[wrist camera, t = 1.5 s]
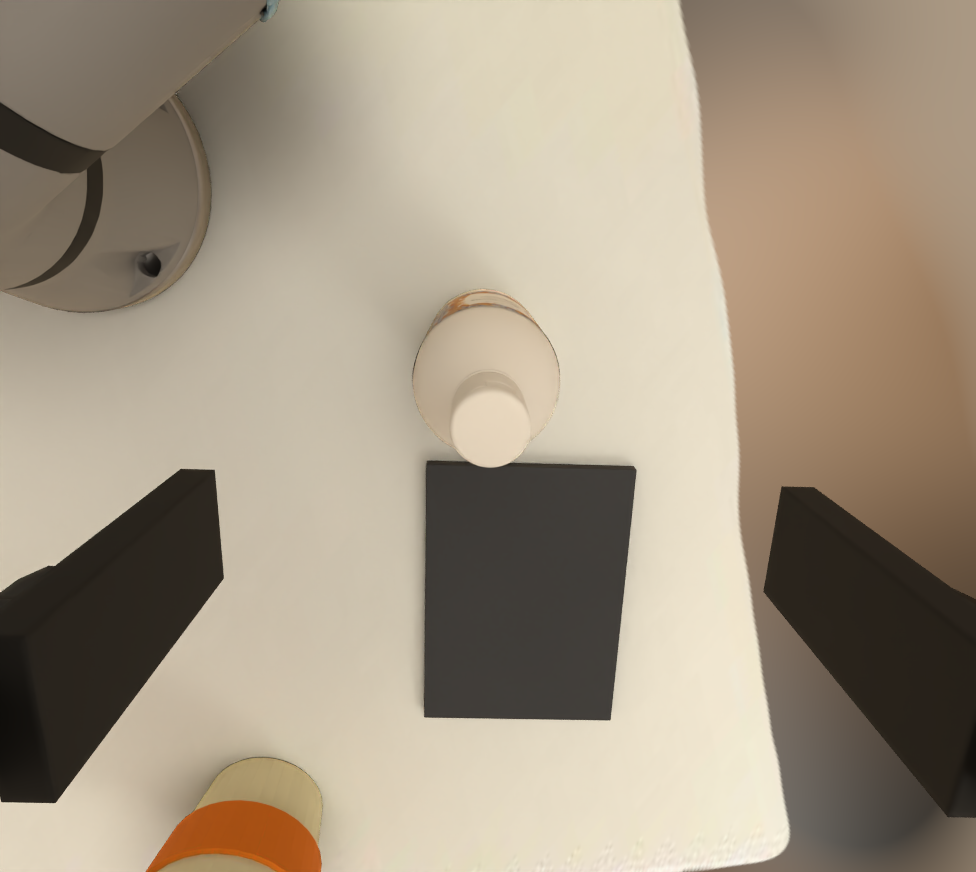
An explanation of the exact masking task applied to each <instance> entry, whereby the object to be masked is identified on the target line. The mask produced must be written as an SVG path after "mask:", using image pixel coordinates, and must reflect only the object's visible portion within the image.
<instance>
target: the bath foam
mask: <svg viewBox="0 0 976 872" xmlns="http://www.w3.org/2000/svg"><path fill="white" fill-rule="evenodd" d="M559 388H560V371H559V365H558V360H557V357H556V354H555V351H554V349H553V347H552V345H551V343H550V341H549V340H548V338H547V337H546V335H545V334H544V333H543V331H542V330H541V329H540V327H539V326H538V324H537V323H536V322H535V320H534V319H533V318H532V316H531V315H530V314H529V312H528V311H527V310H526V309H525V308H524V307H523V306H522V305H521V304H520V303H519V302H518V301H517V300H515V299H514V298H512V297H511V296H509V295H507V294H505V293H502V292H499V291H495V290H489V289H477V290H471V291H468V292H464V293H462V294H460V295H458V296H456V297H454V298H453V299H451V300H450V301H449V302H447V303H446V304H445V305H444V306H443V307H442V308H441V310H440V311H439V312H438V314H437V315H436V317H435V318H434V320H433V322H432V324H431V326H430V328H429V330H428V332H427V334H426V336H425V338H424V340H423V342H422V344H421V346H420V349H419V351H418V354H417V357H416V360H415V363H414V368H413V390H414V396H415V400H416V404H417V407H418V409H419V412H420V414H421V416H422V418H423V419H424V421H425V423H426V424H427V425H428V427H429V428H430V429H431V431H432V432H433V433H434V434H435V435H436V436H437V437H438V438H440V439H441V440H442V441H443V442H445V443H446V444H448V445H449V446H451V447H453V448H455V449H456V450H457V452H458V453H459V454H460V455H461V456H462V457H463V458H464V459H466V460H467V461H469V462H470V463H472V464H475V465H477V466H481V467H489V468H492V467H499V466H503V465H506V464H508V463H510V462H512V461H513V460H515V459H516V458H517V457H519V456H520V455H521V453H522V452H523V451H524V450H525V448H526V446H527V444H528V442H530V441H531V440H532V439H534V438H535V437H536V436H537V435H538V434H539V433H540V432H541V431H542V429H543V428H544V427H545V426H546V424H547V423H548V421H549V419H550V418H551V416H552V414H553V412H554V409H555V406H556V403H557V400H558V395H559Z"/></svg>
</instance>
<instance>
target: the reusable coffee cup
mask: <svg viewBox="0 0 976 872" xmlns="http://www.w3.org/2000/svg"><path fill="white" fill-rule="evenodd" d="M322 806H323V805H322V797H321V794H320V792H319V789H318V787H317V786H316V784H315V783H314V781H313V780H312V779H311V778H310V777H309V776H308V775H307V774H306V773H305V772H304V771H302V770H301V769H299V768H298V767H296V766H294V765H292V764H290V763H288V762H285V761H281V760H278V759H272V758H250V759H246V760H241V761H239V762H236V763H234V764H232V765H230V766H229V767H227V768H226V769H224V770H223V771H222V772H221V773H220V774H219V775H218V776H217V777H216V778H215V780H214V781H213V783H212V784H211V786H210V787H209V789H208V790H207V792H206V793H205V795H204V796H203V798H202V799H201V801H200V802H199V804H198V805H197V807H196V808H195V810H194V811H193V812H192V813H191V814H189V815H188V816H186V817H185V818H184V819H183V820H182V821H181V822H180V823H179V824H178V825H177V826H176V828H175V829H174V831H173V832H172V834H171V835H170V837H169V838H168V840H167V841H166V843H165V844H164V845H163V847H162V848H161V850H160V851H159V853H158V854H157V856H156V857H155V859H154V860H153V862H152V863H151V865H150V866H149V867H148V869H147V870H146V872H321V865H322V863H321V856H320V851H319V848H318V841H319V833H320V824H321V815H322Z"/></svg>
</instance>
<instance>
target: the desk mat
mask: <svg viewBox="0 0 976 872" xmlns="http://www.w3.org/2000/svg"><path fill="white" fill-rule="evenodd" d="M635 479H636V469H635V467H634V466H602V465H565V464H527V463H508V464H506V465H503V466H499V467H492V468H489V467H481V466H477V465H475V464H472V463H470V462H452V461H427V465H426V577H425V693H424V717H431V718H494V719H558V720H610V719H611V710H612V700H613V691H614V681H615V671H616V662H617V652H618V643H619V633H620V623H621V614H622V604H623V595H624V585H625V575H626V566H627V556H628V547H629V537H630V527H631V518H632V508H633V499H634V489H635Z"/></svg>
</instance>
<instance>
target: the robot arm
mask: <svg viewBox="0 0 976 872" xmlns="http://www.w3.org/2000/svg"><path fill="white" fill-rule="evenodd" d="M278 2H279V0H0V291H3V292H5V293H8V294H11V295H14V296H16V297H19V298H22V299H25V300H28V301H30V302H33V303H36V304H39V305H42V306H45V307H49V308H52V309H56V310H62V311H68V312H79V313H90V312H102V311H109V310H114V309H119V308H124V307H128V306H133V305H135V304H138V303H141V302H144V301H146V300H148V299H151V298H153V297H155V296H156V295H158V294H160V293H161V292H163V291H164V290H166V289H167V288H168V287H170V286H171V285H172V284H173V283H174V282H175V281H177V280H178V279H179V278H180V277H181V276H182V274H183V273H184V272H185V271H186V270H187V268H188V267H189V266H190V264H191V263H192V261H193V260H194V258H195V257H196V255H197V253H198V251H199V249H200V247H201V244H202V242H203V239H204V236H205V234H206V230H207V226H208V222H209V216H210V210H211V180H210V172H209V167H208V162H207V157H206V154H205V151H204V147H203V144H202V141H201V139H200V136H199V134H198V132H197V129H196V127H195V125H194V123H193V121H192V119H191V117H190V116H189V114H188V112H187V111H186V109H185V108H184V106H183V104H182V103H181V102H180V100H179V99H178V98H177V96H176V95H175V93H176V92H177V91H178V90H179V89H180V88H182V87H183V86H184V85H185V84H186V83H187V82H188V81H190V80H191V79H192V78H193V77H194V76H195V75H196V74H197V73H199V72H200V71H201V70H202V69H203V68H204V67H205V66H207V65H208V64H209V63H210V62H211V61H212V60H213V59H215V58H216V57H217V56H218V55H219V54H220V53H221V52H223V51H224V50H225V49H226V48H227V47H228V46H229V45H231V44H232V43H233V42H234V41H235V40H236V39H237V38H239V37H240V36H241V35H242V34H243V33H244V32H245V31H247V30H248V29H249V28H250V27H251V26H252V25H253V24H255V23H256V22H257V21H258V20H260V21H262V22H266V21H267V20H269V19H270V18H271V17H272V16H273V15H274V14H275V12H276V11H277V7H278ZM223 579H224V575H223V563H222V551H221V539H220V527H219V515H218V503H217V491H216V479H215V470H198V469H180V470H179V471H178V472H176V473H175V474H174V475H172V476H171V477H170V478H169V479H167V480H166V481H165V482H163V483H162V484H161V485H159V486H158V487H157V488H156V489H154V490H153V491H152V492H150V493H149V494H148V495H146V496H145V497H144V498H143V499H141V500H140V501H139V502H137V503H136V504H135V505H134V506H132V507H131V508H130V509H128V510H127V511H126V512H124V513H123V514H122V515H121V516H119V517H118V518H117V519H115V520H114V521H113V522H111V523H110V524H109V525H108V526H106V527H105V528H104V529H102V530H101V531H100V532H98V533H97V534H96V535H95V536H93V537H92V538H91V539H89V540H88V541H87V542H86V543H84V544H83V545H82V546H80V547H79V548H78V549H76V550H75V551H74V552H73V553H71V554H70V555H69V556H67V557H66V558H65V559H63V560H62V561H61V562H60V563H58V564H57V565H56V566H47V567H45V568H43V569H40V570H38V571H36V572H34V573H31V574H29V575H27V576H25V577H23V578H20V579H18V580H17V581H15V582H14V583H13V584H11V585H10V586H9V587H7V588H6V589H5V590H3V591H2V592H0V798H1V802H24V803H56V802H57V800H58V799H59V798H60V796H61V795H62V794H63V792H64V791H65V790H66V788H67V787H68V786H69V784H70V783H71V782H72V780H73V779H74V778H75V776H76V775H77V774H78V772H79V771H80V770H81V768H82V767H83V766H84V764H85V763H86V762H87V760H88V759H89V758H90V756H91V755H92V754H93V752H94V751H95V750H96V748H97V747H98V746H99V744H100V743H101V742H102V740H103V739H104V738H105V736H106V735H107V734H108V732H109V731H110V730H111V728H112V727H113V726H114V724H115V723H116V722H117V720H118V719H119V718H120V716H121V715H122V714H123V712H124V711H125V710H126V708H127V707H128V706H129V704H130V703H131V702H132V700H133V699H134V698H135V696H136V695H137V694H138V692H139V691H140V690H141V688H142V687H143V686H144V684H145V683H146V682H147V680H148V679H149V678H150V676H151V675H152V674H153V672H154V671H155V669H156V668H157V667H158V665H159V664H160V663H161V661H162V660H163V659H164V657H165V656H166V655H167V653H168V652H169V651H170V649H171V648H172V647H173V645H174V644H175V643H176V641H177V640H178V639H179V637H180V636H181V635H182V633H183V632H184V631H185V629H186V628H187V627H188V625H189V624H190V623H191V621H192V620H193V619H194V617H195V616H196V615H197V613H198V612H199V611H200V609H201V608H202V607H203V605H204V604H205V603H206V601H207V600H208V599H209V597H210V596H211V595H212V593H213V592H214V591H215V589H216V588H217V587H218V585H219V584H220V583H221V581H222V580H223ZM764 593H765V594H766V595H767V597H768V598H769V599H770V600H771V602H772V603H773V604H774V605H775V606H776V608H777V609H778V610H779V611H780V613H781V614H782V615H783V616H784V617H785V619H786V620H787V621H788V622H789V624H790V625H791V626H792V627H793V628H794V629H795V631H796V632H797V633H798V635H799V636H800V637H801V638H802V639H803V641H804V642H805V643H806V644H807V645H808V647H809V648H810V649H811V650H812V652H813V653H814V654H815V655H816V657H817V658H818V659H819V660H820V661H821V663H822V664H823V665H824V666H825V668H826V669H827V670H828V671H829V672H830V674H831V675H832V676H833V677H834V679H835V680H836V681H837V682H838V683H839V685H840V686H841V687H842V688H843V690H844V691H845V692H846V693H847V694H848V696H849V697H850V698H851V699H852V701H854V703H855V704H856V705H857V707H858V708H859V709H860V710H861V711H862V713H863V714H864V715H865V716H866V718H867V719H868V720H869V721H870V722H871V724H872V725H873V726H874V727H875V729H876V730H877V731H878V732H879V733H880V734H881V736H882V737H883V738H884V739H885V741H886V742H887V743H888V744H889V746H890V747H891V748H892V749H893V750H894V752H895V753H896V754H897V755H898V757H899V758H900V759H901V760H902V762H903V763H904V764H905V765H906V766H907V768H908V769H909V770H910V771H911V773H912V774H913V775H914V776H915V777H916V779H917V780H918V781H919V782H920V783H921V785H922V786H923V787H924V788H925V790H926V791H927V792H928V793H929V795H930V796H931V797H932V798H933V799H934V801H935V802H936V803H937V804H938V806H939V807H940V808H941V809H942V810H943V811H944V813H945V814H946V815H947V817H970V818H971V817H972V818H976V599H974V598H972V597H970V596H968V595H966V594H964V593H961V592H959V591H957V590H955V589H953V588H951V587H950V586H948V585H947V584H946V583H944V582H943V581H941V580H940V579H939V578H937V577H936V576H934V575H933V574H932V573H930V572H929V571H928V570H926V569H925V568H923V567H922V566H921V565H919V564H918V563H916V562H915V561H914V560H913V559H911V558H910V557H908V556H907V555H906V554H904V553H903V552H902V551H900V550H899V549H898V548H896V547H895V546H893V545H892V544H891V543H889V542H888V541H886V540H885V539H884V538H882V537H881V536H880V535H878V534H877V533H876V532H874V531H873V530H871V529H870V528H869V527H867V526H866V525H865V524H863V523H862V522H861V521H859V520H858V519H856V518H855V517H854V516H852V515H851V514H850V513H848V512H847V511H845V510H844V509H843V508H841V507H840V506H839V505H837V504H836V503H835V502H833V501H832V500H830V499H829V498H828V497H826V496H825V495H823V494H822V493H821V492H819V491H818V490H817V489H815V488H814V487H782V488H781V493H780V499H779V505H778V511H777V516H776V522H775V528H774V534H773V540H772V545H771V551H770V557H769V563H768V569H767V575H766V580H765V586H764Z"/></svg>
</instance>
